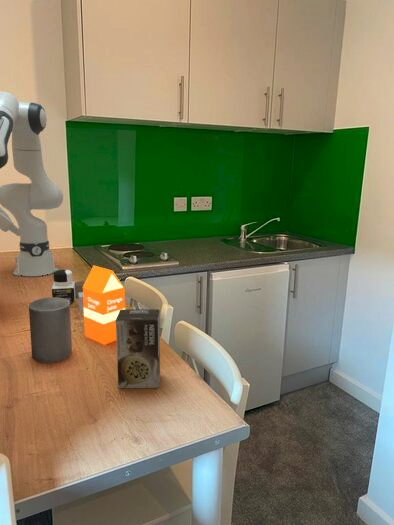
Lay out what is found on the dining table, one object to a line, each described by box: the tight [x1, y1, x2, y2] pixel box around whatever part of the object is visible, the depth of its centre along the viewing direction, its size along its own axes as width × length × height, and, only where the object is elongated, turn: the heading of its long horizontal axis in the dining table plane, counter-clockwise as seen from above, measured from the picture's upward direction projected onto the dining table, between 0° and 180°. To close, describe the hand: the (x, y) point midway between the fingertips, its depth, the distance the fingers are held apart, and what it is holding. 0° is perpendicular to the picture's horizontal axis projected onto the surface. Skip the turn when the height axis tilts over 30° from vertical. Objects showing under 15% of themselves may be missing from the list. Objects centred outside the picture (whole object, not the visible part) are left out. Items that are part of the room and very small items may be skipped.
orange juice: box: [82, 265, 126, 346], centre depth 109 cm, size 8×9×20 cm
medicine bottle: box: [51, 269, 76, 308], centre depth 134 cm, size 7×7×12 cm
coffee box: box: [115, 308, 161, 389], centre depth 86 cm, size 9×6×16 cm
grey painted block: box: [78, 292, 84, 312], centre depth 132 cm, size 5×5×5 cm
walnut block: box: [74, 280, 86, 300], centre depth 144 cm, size 5×5×5 cm
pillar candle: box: [28, 296, 73, 364], centre depth 98 cm, size 10×10×15 cm
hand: (20, 234), depth 124 cm, fingers closed
